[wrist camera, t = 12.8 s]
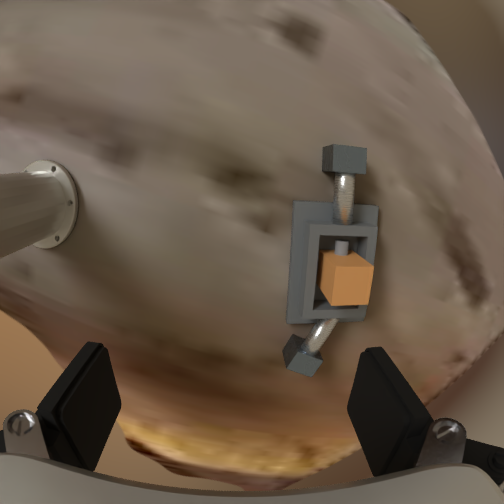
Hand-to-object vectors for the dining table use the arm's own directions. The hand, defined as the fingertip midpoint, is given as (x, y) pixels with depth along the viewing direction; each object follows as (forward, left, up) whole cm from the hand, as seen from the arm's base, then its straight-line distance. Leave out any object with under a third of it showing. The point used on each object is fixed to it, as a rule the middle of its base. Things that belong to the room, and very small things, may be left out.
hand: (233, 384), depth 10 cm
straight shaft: (+12, +6, -28) cm, 31 cm away
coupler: (+12, -4, -27) cm, 30 cm away
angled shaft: (+10, -13, -28) cm, 33 cm away
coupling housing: (+12, -4, -28) cm, 31 cm away
